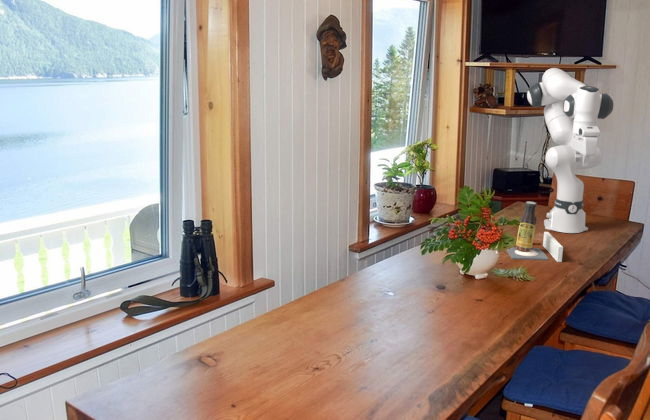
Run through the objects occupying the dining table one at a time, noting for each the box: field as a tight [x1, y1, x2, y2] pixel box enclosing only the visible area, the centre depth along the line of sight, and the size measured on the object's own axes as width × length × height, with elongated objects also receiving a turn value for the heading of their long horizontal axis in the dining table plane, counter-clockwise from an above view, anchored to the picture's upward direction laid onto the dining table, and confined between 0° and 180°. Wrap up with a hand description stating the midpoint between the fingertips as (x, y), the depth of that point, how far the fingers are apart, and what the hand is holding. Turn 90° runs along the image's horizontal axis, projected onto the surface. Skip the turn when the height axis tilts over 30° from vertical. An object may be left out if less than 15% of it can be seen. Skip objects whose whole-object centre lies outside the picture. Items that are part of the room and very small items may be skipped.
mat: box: [505, 246, 550, 261], centre depth 247 cm, size 14×14×1 cm
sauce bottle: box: [515, 201, 537, 252], centre depth 248 cm, size 6×6×20 cm
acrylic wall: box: [542, 231, 564, 263], centre depth 248 cm, size 22×2×6 cm, turn 175°
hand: (581, 163), depth 244 cm, fingers open, 8 cm apart
